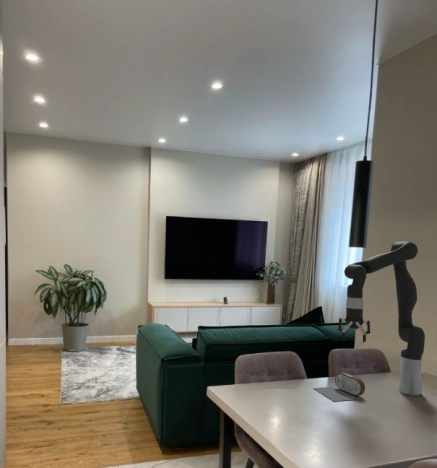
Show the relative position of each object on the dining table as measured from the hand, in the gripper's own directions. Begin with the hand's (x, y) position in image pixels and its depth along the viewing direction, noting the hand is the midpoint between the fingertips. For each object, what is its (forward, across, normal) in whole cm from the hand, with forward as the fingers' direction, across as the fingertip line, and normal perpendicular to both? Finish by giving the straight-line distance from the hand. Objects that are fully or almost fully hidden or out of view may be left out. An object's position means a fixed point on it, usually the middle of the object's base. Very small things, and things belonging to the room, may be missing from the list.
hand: (353, 341), depth 177 cm
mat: (+25, +8, +2) cm, 27 cm away
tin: (+26, +2, -3) cm, 26 cm away
